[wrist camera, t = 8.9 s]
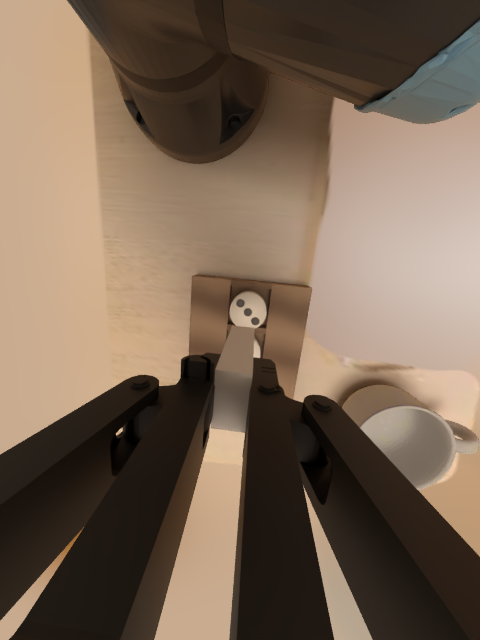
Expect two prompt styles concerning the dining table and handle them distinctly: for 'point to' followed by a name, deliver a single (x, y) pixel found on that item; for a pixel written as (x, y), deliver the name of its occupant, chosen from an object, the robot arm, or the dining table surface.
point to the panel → (273, 334)
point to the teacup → (409, 432)
